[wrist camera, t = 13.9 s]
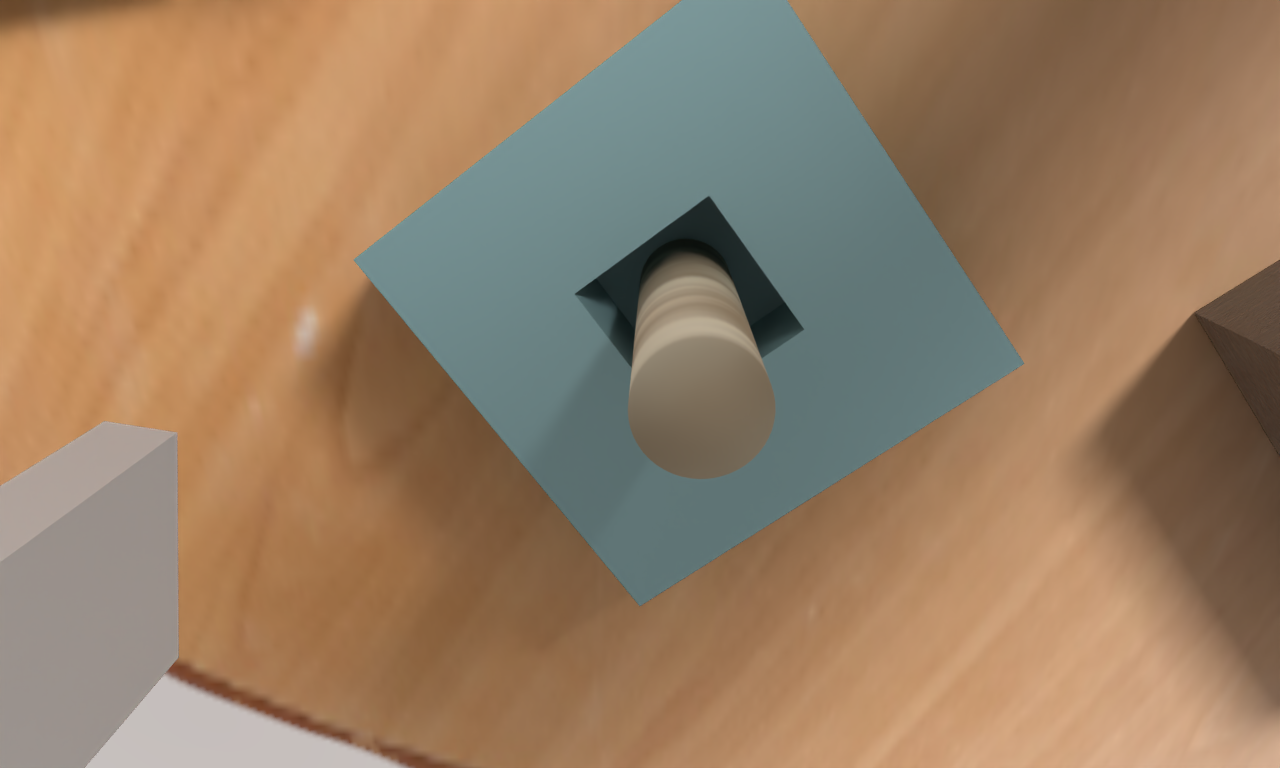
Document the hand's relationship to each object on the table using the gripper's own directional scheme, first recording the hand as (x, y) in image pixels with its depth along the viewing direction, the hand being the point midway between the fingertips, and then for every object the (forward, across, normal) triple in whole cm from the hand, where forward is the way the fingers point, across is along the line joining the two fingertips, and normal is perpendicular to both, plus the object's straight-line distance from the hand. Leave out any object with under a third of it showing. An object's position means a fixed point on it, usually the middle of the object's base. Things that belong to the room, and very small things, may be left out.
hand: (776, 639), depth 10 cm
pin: (+23, -1, -1) cm, 23 cm away
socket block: (+24, -1, -1) cm, 24 cm away
